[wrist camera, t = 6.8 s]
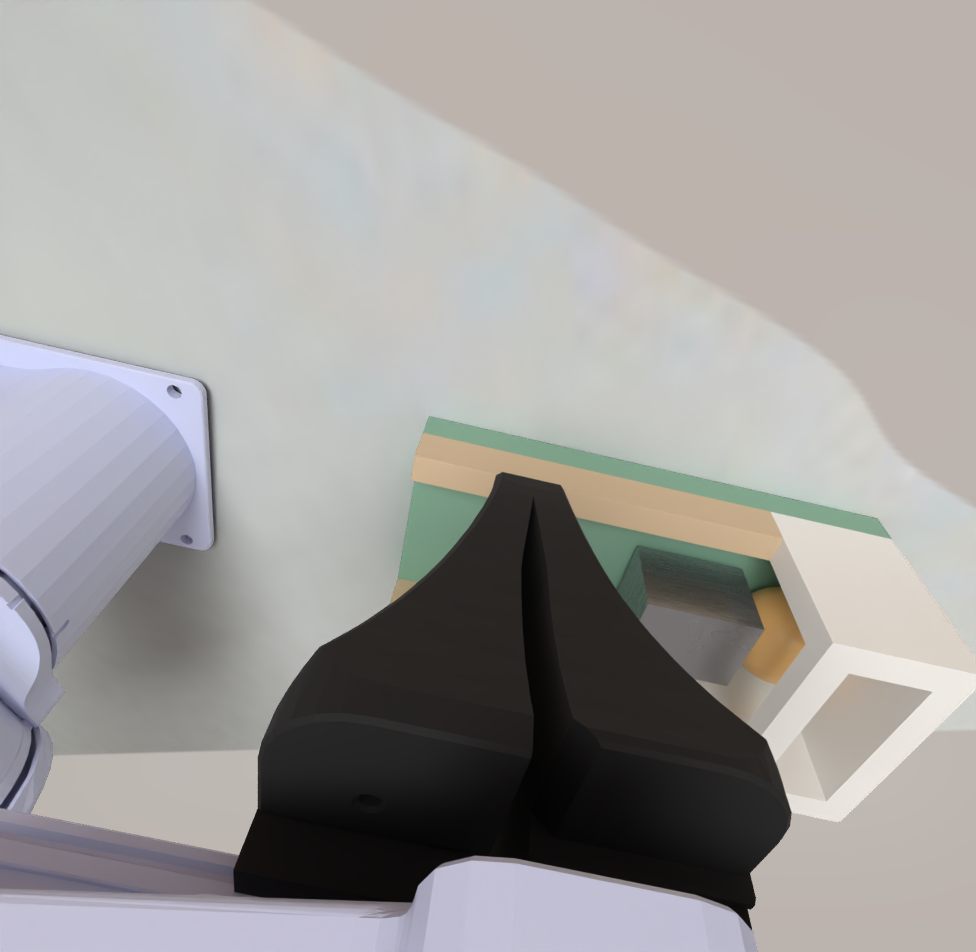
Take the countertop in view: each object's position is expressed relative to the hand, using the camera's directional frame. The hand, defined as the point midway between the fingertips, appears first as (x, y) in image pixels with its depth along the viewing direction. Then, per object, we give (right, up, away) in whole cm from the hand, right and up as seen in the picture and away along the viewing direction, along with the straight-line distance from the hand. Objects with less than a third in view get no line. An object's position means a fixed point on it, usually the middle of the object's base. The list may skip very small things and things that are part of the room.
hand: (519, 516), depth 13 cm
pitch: (+5, -2, +12) cm, 13 cm away
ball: (+10, -5, +10) cm, 15 cm away
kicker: (+7, -3, +11) cm, 13 cm away
